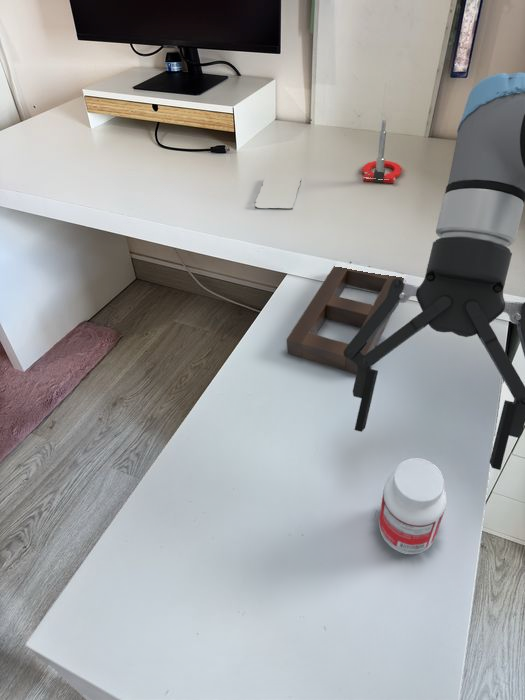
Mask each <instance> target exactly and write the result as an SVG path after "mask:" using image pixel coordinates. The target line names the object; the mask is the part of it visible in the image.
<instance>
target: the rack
mask: <svg viewBox="0 0 525 700" xmlns="http://www.w3.org/2000/svg"><path fill="white" fill-rule="evenodd" d="M396 278H398V279H401V280H402V281H403V282H404V278H402V277H396V276H389V275H381V274H375V273H368V272H363V271H357V270H352V269H347V268H342V267H335V266H334V265H333V267H332V268H331V270H330V271H329V273H328V274H327V276H326V278H324V279H325V280H324V281H323V282H322V284H321V285H320V287H319V289H318V290H317V291H316V293H315V295H314V296H313V298H312V299H311V301H310V302H309V304H308V306H307V307H306V309H305V310H304V312H303V313H302V315H301V317H299V319H298V321H297V322H296V324H295V326H293V329H292V330H291V332H290V333H289V335H288V336H287V338H286V348H287V354H289V355H293V356H296V357H300V358H303V359H306V360H309V361H312V362H317V363H318V364H319V363H320V364H321V365H326V366H329V367H333V368H336V369H338V370H342V371H345V372H350V373H353V374H355V375H356V374H357V369H358V368H357V365H356V363H354V362H353V361H351V360H350V359H348V358H346V357H345V356H344V354H343V353H344V350H345V348H346V347H347V346H348V345H349V343H347V342H342V341H339V340H336V339H333V338H328V337H326V336H321V335H318V333H319V331H320V330H321V328H322V326H323V325H324V323H325V321H326V319H328V320H331V321H334V322H339V323H342V324H346V325H350V326H354V327H357V328H360V330H361V328H362V327H363V326H364V325H365V324H366V322H367V321H368V320H369V319H370V317H371V316H372V315H373V314H374V312H375V311H376V310H377V309H378V307H379V306H380V305H381V304H382V303H383V301H384V300H385V299H386V297H387V294H388V291H389V288H390V286H391V283H392V281H393V280H394V279H396ZM347 285H348V286H353V287H358V288H360V289H361V288H362V289H366V290H370V291H374V292H377V293H378V292H379V293H378V295H377V297H376V299H375V300H374V303H373V304H370V303H366V302H362V301H358V300H353V299H349V298H345V297H343V296H341V295H342V293H343V291H344V289H345V288H346V286H347ZM391 316H392V314H391V315H390V316H389V318H388V319H387V320H386V321H385V323H384V324H383V325H382V326H381V327H380V329H379V330H378V331H377V332H376V334H375V335H374V336H373V337H372V338H371V340H370V341H369V342H368V343H367V345H366V346H365V347H364V348H363V349H362V351H361V352H362V353H363V354H365V355H366V354H367V353H368V352H370V351H371V350H372V349H374V348H375V347H376V346H378V344H379V341H380V340H381V339H380V338H381V337H382V335H383V333H384V331H385V329H386V327H387V324H388V323H389V320H390V318H391ZM360 330H359V331H360Z"/></svg>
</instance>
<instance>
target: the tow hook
mask: <svg viewBox="0 0 525 700" xmlns="http://www.w3.org/2000/svg"><path fill="white" fill-rule="evenodd" d="M386 124H387V120H385V119H383V120H381V128H380V129H381V130H380V131H379V141H378V153H377V158H376V160H374V161H370V162H367V163H366V164H364V165H363V167H362V175H363V176H364V177H369V178H370V177H371V178H376V179H366V178H363V177H362V181H363V182H373V183H380V184H381V183H382V184H383V183H386V184H394V183H395V181H396V178H398V177H399V176H400V175H401V174H402V165H399V163H397V162H394V161H391V160H385V159H386V158H385V157H384V156H385V148H386V147H385V146H386V137H387V131H386ZM385 167H386V168H390V169H392V170H393V171H392V172H391V171H390V172H388V173H386V169H385ZM373 168H374V171H371V170H372V169H373ZM364 172H368V173H367V174H365V173H364ZM368 174H370V175H368ZM378 179H383V180H378ZM384 179H389V180H384Z"/></svg>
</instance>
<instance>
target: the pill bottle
mask: <svg viewBox="0 0 525 700" xmlns="http://www.w3.org/2000/svg"><path fill="white" fill-rule="evenodd" d="M444 479H445V478H444V476H443V474H442V472H441V470H440V469H439V467H437V466H436V465H435V464H434V463H433V462H431V461H430V460H427V459H424V458H419V457H411V458H407V459H405V460H402V461H401V462H400V463H398V465H397V466H396V468H395V470H394V471H393V472H392V473H391V474H390V475H389V476H388V478H387V479H386V480H385V483H384V486H383V489H382V490H383V491H382V498H381V505H380V513H379V520H378V527H379V532H380V534H381V536H382V538H383V540H384V542H386V544H387V545H388V546H389V547H390V548H391V549H393V550H395V551H396V552H399V553H402V554H404V555H418V554H421V553H423V552H426V551H427V550H428V549H429V548H430V547H431V546H432V545H433V544H434V541H435V540H436V538H437V537H436V536H437V534H438V531H439V528H440V524H441V522H442V519H443V516H444V513H445V511H446V509H447V503H448V496H447V491H446V489H445V480H444Z"/></svg>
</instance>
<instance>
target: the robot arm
mask: <svg viewBox="0 0 525 700" xmlns="http://www.w3.org/2000/svg"><path fill="white" fill-rule="evenodd" d="M456 132H457V134H456V139H455V140H456V141H455V146H454V151H453V156H452V161H451V166H450V172H449V177H448V181H447V185H446V186H445V191H444V195H443V197H442V201H441V206H440V210H439V215H438V220H437V224H436V228H435V234H436V235H437V237H439V238H437V239H436V240H435V241H433V242H432V246H431V249H430V255H429V258H428V263H427V267H426V271H425V275H424V279H423V281H422V282H421V283H420V285H419V286H418V285H416V284H415V285H414V284H411V283H408V282H406V281H405V282H403V281H402V280H401V279H398V278H396V279H394V280H393V281H392V283H391V286H390V288H389V291H388V294H387V297H386V299H385V300H384V301H383V303H382V304H381V305H380V306H379V307H378V309H377V310H376V311H375V312H374V314H373V315H372V316H371V317H370V319H369V320H368V321H367V322H366V324H365V325H364V326H363V327H362V328H361V327H360V329H361V330H359V331H358V332H357V333H356V334H355V336H354V337H353V338H352V340H351V341H350V342H349V343H348V344H349V345H348V346H347V347H346V348H345V350H344V353H343V354H344V356H345V357H346V358H348V359H350V360H351V361H353V362H354V363H356V365H357V368H358V369H357V374H356V373H355V380H354V384H353V388H352V396H353V397H354V398H358V399H360V403H359V408H358V412H357V416H356V421H355V426H354V431H356V432H360V433H363V431H364V430H365V429H366V426H367V422H368V418H369V412H370V410H371V409H370V408H371V404H372V399H373V395H374V390H375V387H376V382H377V377H378V373H379V370H376V369H372V366H374V365H375V364H377V362H379V361H381V360H382V359H383V358H385V357H386V356H387V355H389V354H390V353H391V352H393V351H394V350H395V349H397V348H398V347H399V346H401V345H403V344H404V343H405V342H406V341H407V340H409V339H411V338H412V337H413V336H414V335H415V334H417V333H419V332H420V331H422V330H423V329H424V328H425V327H427V326H429V327H430V328H431V329H432V330H434V331H435V332H438V333H439V332H440V333H452V334H454V335H457V336H459V337H464V338H470V337H473V336H476V335H477V337H478V339H479V340H480V342H481V343H482V345H483V347H484V349H485V350H486V352H487V354H488V356H489V357H490V359H491V361H492V362H493V364H494V366H495V368H496V370H497V371H498V373H499V375H500V376H501V378H502V380H503V381H504V384H505V385H506V387H507V389H508V390H509V392H510V394H511V396H512V397H513V401H510V400H506V399H505V400H504V402H503V406H502V411H501V413H500V418H499V422H498V426H497V431H496V434H495V439H494V442H493V447H492V451H491V455H490V458H489V464H490V467H491V468H492V469H495V470H498V471H501V470H502V465H503V463H504V462H503V460H504V458H505V453H506V450H507V445H508V441H509V437H512V438H516V439H517V438H518V439H519V438H520V437H521V436H522V435H523V432H524V428H525V384H524V382H523V381H522V379H521V377H520V375H519V374H518V372H517V370H516V369H515V366H514V365H513V363H512V361H511V360H510V358H509V357H508V354H507V353H506V351H505V349H504V348H503V346H502V344H501V342H500V341H499V339H498V336H497V334H496V332H495V331H494V330H493V328H492V325H491V323H492V322H494V321H495V320H496V319H497V318H498V317H500V316H501V315H502V314H503V313H505V314H507V315H508V318H509V321H510V322H511V324H513V325H514V324H515V325H516V331H517V335H518V339H519V342H520V345H521V350H522V353H523V356H524V358H525V301H524V302H517V301H505V298H504V289H505V285H506V280H507V278H508V272H509V268H510V264H511V261H512V260H511V259H512V255H513V253H512V252H511V249H510V248H509V247H510V246H513V245H515V243H516V240H517V236H518V231H519V228H520V223H521V219H522V215H523V210H524V206H525V72H515V73H513V74H512V73H511V74H509V73H506V72H501V73H497V74H493V75H490V76H488V77H485V78H482V80H480V81H479V82H478V83H477V84H475V85H474V86H473V87H472V89H471V90H470V92H469V94H468V97H467V100H466V103H465V106H464V111H463V113H462V117H461V119H460V121H459V123H458V127H457V130H456ZM412 297H415V298H416V300H417V303H418V304H419V306H420V309H421V312H420V313H419V314H417V315H416V316H414V317H413V318H412V319H410V320H409V321H408V322H407V323H406V324H405V325H403V326H402V327H400V328H399V329H398V330H396V331H395V332H394V333H392V334H391V335H390V336H388V337H387V338H386V339H384V340H383V341H382V342H380V343H378V344H377V345H376V347H375V348H374V349H372V350H371V351H370V352H368V353H367V354H366V355H365V354H363V353H362V352H361V351H362V349H363V348H364V347H365V346H366V345H367V343H368V342H369V341H370V340H371V338H372V337H373V336H374V335H375V334H376V332H377V331H378V330H379V329H380V327H381V326H382V325H383V324H384V323H385V321H386V320H387V319H388V318H389V316H390V315H391V316H392V314H393V313H394V312H395V310H396V309H397V308H398V306H399V305H400V304H405V303H407V302H408V300H409V299H410V298H412ZM391 316H390V317H391ZM389 319H390V318H389Z"/></svg>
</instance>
